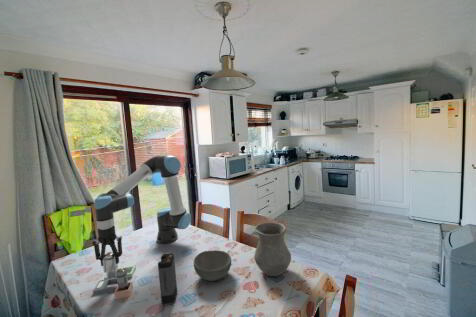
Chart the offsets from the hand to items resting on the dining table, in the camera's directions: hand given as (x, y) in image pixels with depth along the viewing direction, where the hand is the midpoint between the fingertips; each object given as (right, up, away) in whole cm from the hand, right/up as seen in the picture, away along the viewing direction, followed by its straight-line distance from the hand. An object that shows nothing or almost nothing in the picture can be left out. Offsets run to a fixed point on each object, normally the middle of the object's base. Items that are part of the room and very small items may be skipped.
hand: (111, 270), depth 115 cm
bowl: (+53, -6, +6) cm, 53 cm away
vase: (+85, -4, +6) cm, 85 cm away
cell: (0, -3, 0) cm, 3 cm away
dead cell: (+9, -9, -5) cm, 14 cm away
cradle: (-1, -10, +1) cm, 10 cm away
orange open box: (+10, -10, -5) cm, 14 cm away
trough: (0, -9, +10) cm, 13 cm away
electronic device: (+33, -9, -9) cm, 36 cm away
